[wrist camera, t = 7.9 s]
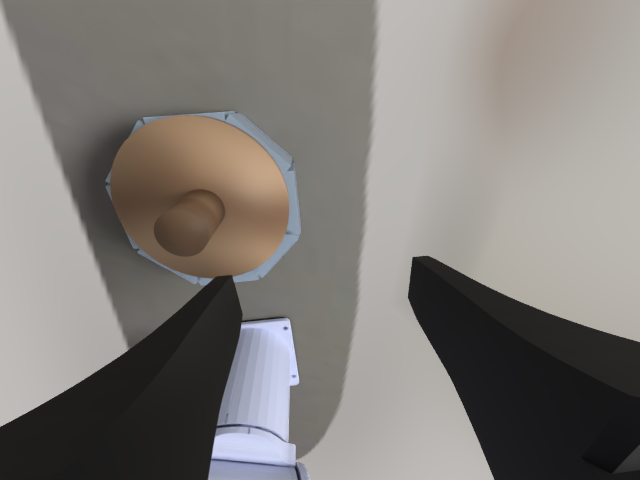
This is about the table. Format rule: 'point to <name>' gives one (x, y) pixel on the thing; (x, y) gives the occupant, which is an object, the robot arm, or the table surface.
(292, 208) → the bowl
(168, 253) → the lid
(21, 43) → the table surface
